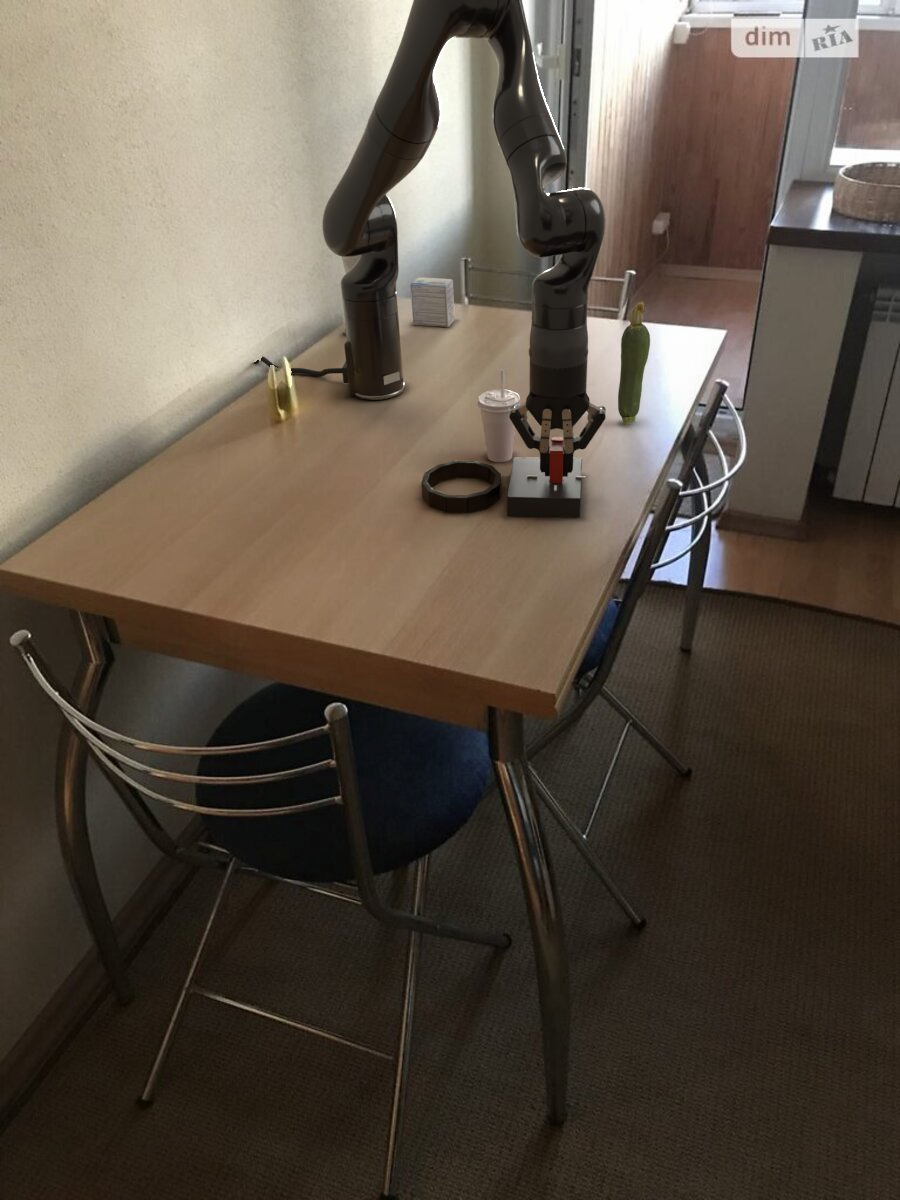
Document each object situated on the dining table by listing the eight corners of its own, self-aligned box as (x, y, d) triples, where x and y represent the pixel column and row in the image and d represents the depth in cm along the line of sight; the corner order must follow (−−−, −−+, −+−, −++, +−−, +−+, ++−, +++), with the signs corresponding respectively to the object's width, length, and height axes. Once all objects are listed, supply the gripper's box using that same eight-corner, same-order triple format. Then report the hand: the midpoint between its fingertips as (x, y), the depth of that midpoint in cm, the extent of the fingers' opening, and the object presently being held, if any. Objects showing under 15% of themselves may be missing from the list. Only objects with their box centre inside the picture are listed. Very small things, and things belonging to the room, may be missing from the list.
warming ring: (417, 512, 134) (416, 496, 132) (429, 474, 143) (428, 459, 141) (497, 514, 132) (496, 498, 131) (504, 476, 141) (503, 461, 140)
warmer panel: (507, 515, 132) (506, 495, 130) (513, 475, 141) (513, 455, 140) (584, 517, 130) (585, 497, 128) (585, 476, 140) (586, 457, 138)
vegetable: (613, 417, 156) (620, 295, 145) (640, 415, 156) (649, 293, 145) (620, 428, 152) (627, 304, 141) (646, 426, 153) (656, 302, 141)
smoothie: (517, 467, 143) (517, 379, 135) (475, 465, 144) (472, 377, 136) (523, 448, 148) (523, 362, 140) (482, 446, 150) (480, 360, 142)
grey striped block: (455, 320, 198) (453, 278, 193) (448, 328, 195) (446, 285, 190) (420, 318, 200) (417, 276, 195) (412, 325, 197) (409, 283, 192)
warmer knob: (562, 483, 132) (563, 449, 129) (549, 483, 132) (549, 449, 129) (563, 470, 135) (564, 436, 132) (550, 470, 136) (551, 436, 133)
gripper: (612, 344, 126) (605, 462, 136) (507, 344, 128) (509, 460, 138) (612, 366, 120) (605, 487, 130) (503, 365, 122) (505, 485, 132)
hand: (556, 473), depth 134 cm, fingers closed on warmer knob, 2 cm apart
